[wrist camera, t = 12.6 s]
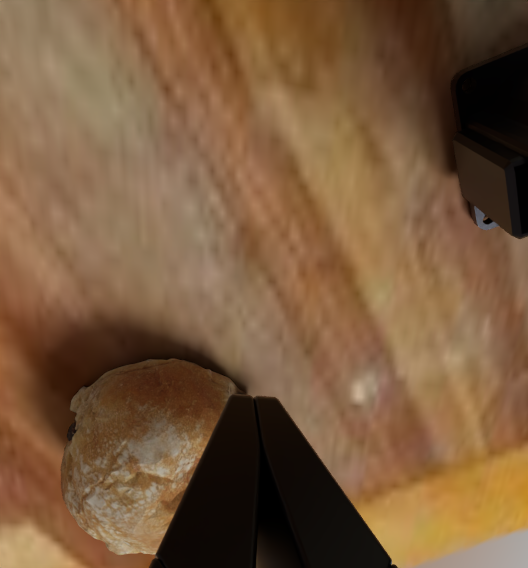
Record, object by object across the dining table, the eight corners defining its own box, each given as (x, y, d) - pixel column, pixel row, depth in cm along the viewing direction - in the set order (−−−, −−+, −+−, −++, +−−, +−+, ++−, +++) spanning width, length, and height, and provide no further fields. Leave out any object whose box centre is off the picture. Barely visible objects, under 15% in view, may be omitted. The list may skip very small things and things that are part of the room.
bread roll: (131, 298, 25) (11, 383, 18) (311, 378, 23) (250, 507, 16) (113, 429, 30) (13, 536, 23) (262, 505, 28) (199, 646, 21)
